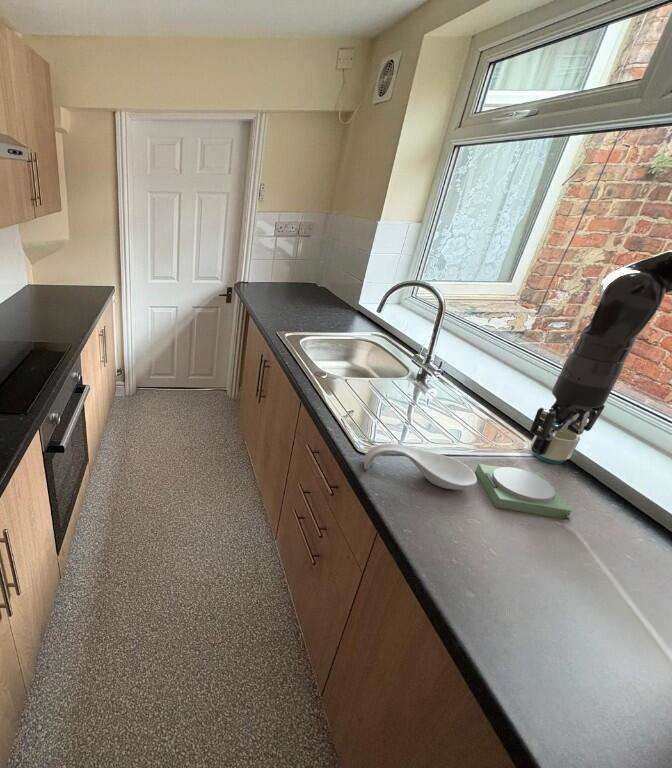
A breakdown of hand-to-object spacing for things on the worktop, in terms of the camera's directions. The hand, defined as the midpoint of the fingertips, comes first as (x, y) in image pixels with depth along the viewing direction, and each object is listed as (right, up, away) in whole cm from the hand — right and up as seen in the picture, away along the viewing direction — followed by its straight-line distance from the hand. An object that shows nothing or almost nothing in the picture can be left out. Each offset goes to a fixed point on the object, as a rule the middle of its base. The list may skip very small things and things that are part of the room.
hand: (550, 449), depth 85 cm
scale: (+3, -12, +11) cm, 16 cm away
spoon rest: (-17, -9, +17) cm, 26 cm away
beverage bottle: (+19, -7, +21) cm, 29 cm away
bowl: (0, -1, 0) cm, 1 cm away
